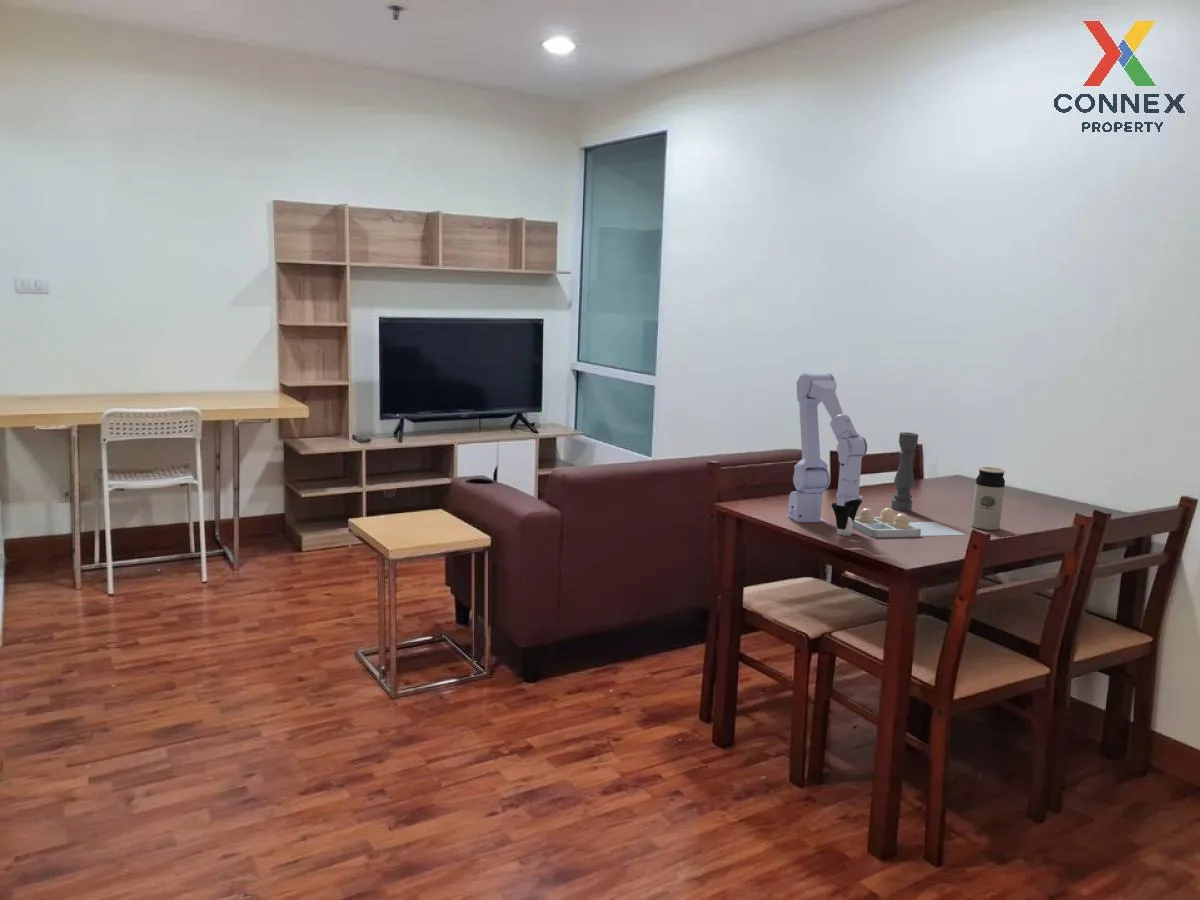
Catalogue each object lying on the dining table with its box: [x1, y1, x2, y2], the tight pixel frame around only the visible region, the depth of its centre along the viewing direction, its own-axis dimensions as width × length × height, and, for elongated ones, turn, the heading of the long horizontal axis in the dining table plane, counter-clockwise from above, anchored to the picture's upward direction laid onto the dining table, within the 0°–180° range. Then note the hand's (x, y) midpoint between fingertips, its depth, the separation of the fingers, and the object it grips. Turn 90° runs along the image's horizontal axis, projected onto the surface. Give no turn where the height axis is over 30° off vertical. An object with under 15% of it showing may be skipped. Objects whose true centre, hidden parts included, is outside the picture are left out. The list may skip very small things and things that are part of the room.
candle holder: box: [890, 431, 919, 512], centre depth 289 cm, size 6×6×25 cm
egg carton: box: [852, 516, 967, 538], centre depth 264 cm, size 30×15×2 cm, turn 104°
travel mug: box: [970, 466, 1006, 531], centre depth 271 cm, size 8×8×18 cm
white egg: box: [836, 517, 854, 537], centre depth 255 cm, size 4×4×6 cm
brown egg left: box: [858, 507, 875, 523], centre depth 264 cm, size 4×4×6 cm
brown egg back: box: [893, 512, 910, 529], centre depth 259 cm, size 4×4×6 cm
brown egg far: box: [879, 507, 896, 523], centre depth 266 cm, size 4×4×6 cm
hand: (845, 526), depth 255 cm, fingers open, 7 cm apart
